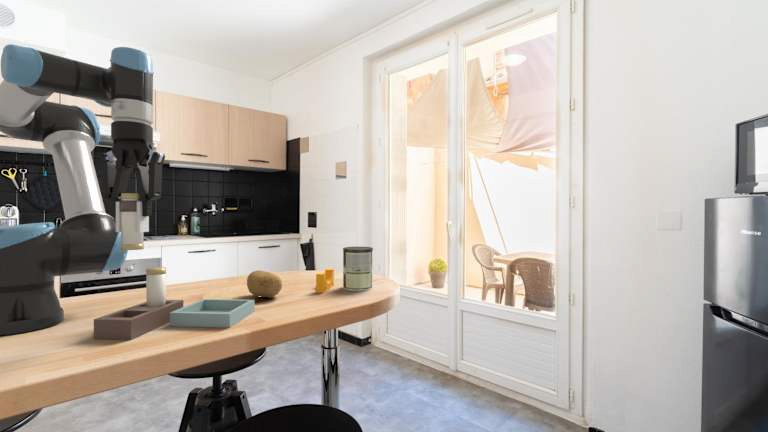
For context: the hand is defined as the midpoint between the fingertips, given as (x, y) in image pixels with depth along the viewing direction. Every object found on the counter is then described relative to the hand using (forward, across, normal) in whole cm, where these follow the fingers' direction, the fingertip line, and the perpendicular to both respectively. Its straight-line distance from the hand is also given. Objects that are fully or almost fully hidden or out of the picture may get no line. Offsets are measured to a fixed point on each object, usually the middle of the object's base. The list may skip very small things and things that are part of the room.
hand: (132, 231), depth 82 cm
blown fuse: (+4, 0, 0) cm, 4 cm away
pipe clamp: (+22, +30, +49) cm, 62 cm away
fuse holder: (+22, -1, +4) cm, 22 cm away
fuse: (+21, -1, +9) cm, 23 cm away
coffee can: (+22, +41, +52) cm, 70 cm away
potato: (+22, +15, +35) cm, 44 cm away
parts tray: (+22, +12, +12) cm, 28 cm away
